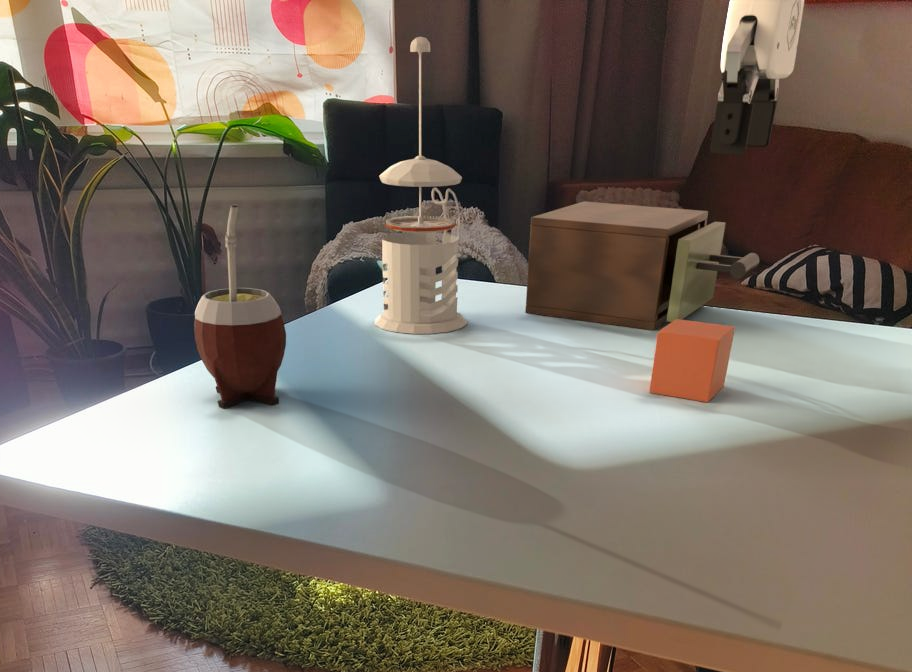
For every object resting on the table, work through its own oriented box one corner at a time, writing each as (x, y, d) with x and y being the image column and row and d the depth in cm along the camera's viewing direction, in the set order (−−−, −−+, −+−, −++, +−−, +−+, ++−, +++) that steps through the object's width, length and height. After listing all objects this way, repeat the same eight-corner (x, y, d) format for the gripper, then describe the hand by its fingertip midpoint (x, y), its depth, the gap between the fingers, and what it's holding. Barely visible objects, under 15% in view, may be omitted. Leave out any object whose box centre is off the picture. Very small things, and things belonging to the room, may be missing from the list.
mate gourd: (243, 379, 77) (221, 185, 69) (316, 394, 74) (302, 192, 65) (181, 403, 72) (149, 196, 63) (256, 420, 68) (233, 204, 60)
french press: (355, 325, 93) (344, 35, 79) (413, 304, 101) (412, 38, 87) (437, 338, 88) (440, 34, 75) (490, 315, 97) (502, 38, 83)
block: (724, 386, 76) (735, 326, 73) (708, 402, 72) (719, 340, 70) (667, 377, 78) (676, 318, 75) (648, 392, 75) (657, 331, 72)
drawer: (757, 303, 99) (773, 226, 94) (726, 329, 89) (742, 245, 85) (600, 284, 106) (607, 212, 102) (555, 306, 96) (561, 228, 92)
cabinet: (693, 302, 102) (708, 211, 97) (653, 330, 92) (667, 229, 87) (575, 288, 109) (583, 201, 103) (525, 312, 98) (530, 217, 93)
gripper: (804, -91, 69) (759, 158, 79) (840, -67, 82) (797, 145, 91) (708, -85, 72) (675, 154, 82) (757, -63, 85) (724, 142, 94)
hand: (740, 149), depth 86 cm, fingers open, 9 cm apart
